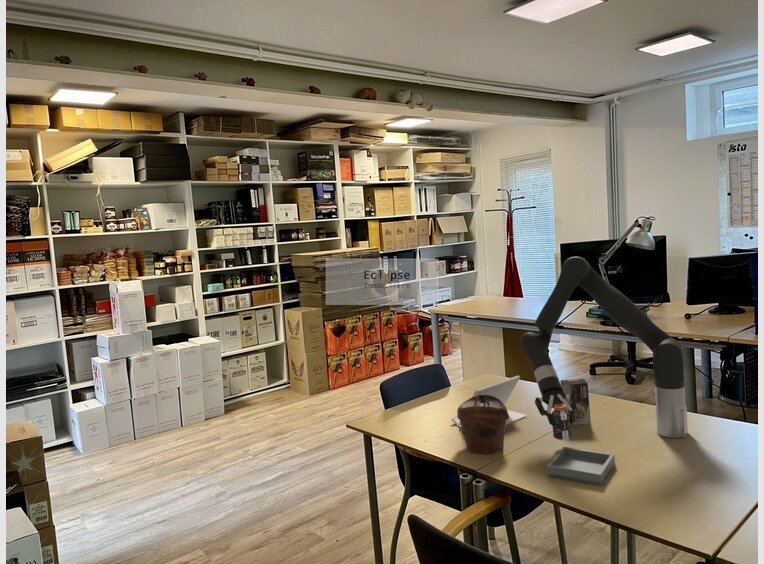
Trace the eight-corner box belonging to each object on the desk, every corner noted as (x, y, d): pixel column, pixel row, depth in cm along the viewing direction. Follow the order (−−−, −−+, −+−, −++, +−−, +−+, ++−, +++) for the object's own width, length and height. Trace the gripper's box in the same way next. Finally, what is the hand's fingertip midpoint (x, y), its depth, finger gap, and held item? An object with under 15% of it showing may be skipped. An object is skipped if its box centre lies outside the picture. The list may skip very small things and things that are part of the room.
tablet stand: (527, 417, 232) (524, 375, 230) (484, 435, 217) (481, 391, 215) (493, 408, 246) (490, 369, 245) (451, 424, 232) (447, 383, 230)
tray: (615, 464, 181) (614, 454, 181) (601, 486, 168) (600, 474, 168) (564, 456, 191) (563, 446, 190) (547, 476, 178) (547, 465, 177)
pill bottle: (572, 440, 194) (569, 407, 193) (554, 440, 195) (551, 408, 194) (570, 433, 200) (567, 402, 199) (552, 434, 201) (550, 402, 200)
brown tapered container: (491, 432, 218) (487, 386, 216) (522, 450, 199) (518, 400, 197) (449, 443, 212) (445, 396, 210) (477, 462, 193) (472, 411, 191)
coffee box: (586, 418, 223) (584, 378, 222) (591, 424, 217) (588, 382, 216) (562, 419, 224) (560, 379, 223) (566, 425, 218) (563, 384, 217)
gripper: (530, 378, 203) (544, 421, 192) (569, 372, 204) (586, 416, 193) (526, 388, 209) (540, 431, 198) (565, 383, 210) (581, 426, 199)
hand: (563, 423), depth 196 cm, fingers closed on pill bottle, 6 cm apart
